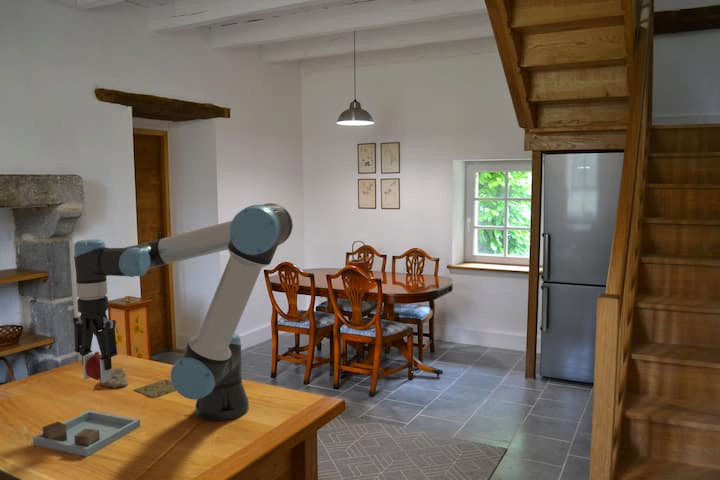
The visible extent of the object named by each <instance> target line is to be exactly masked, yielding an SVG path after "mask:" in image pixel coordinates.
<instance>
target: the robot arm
mask: <svg viewBox="0 0 720 480" xmlns="http://www.w3.org/2000/svg"><path fill="white" fill-rule="evenodd" d="M293 227H294V226H293V219H292V216H291V215H290V212H289V211H288V210H287V209H286V208H284V206H281V205H279V204H277V203H270V202H269V203H264V204H253V205H249V206H247V207H245V208H243V209H242V210H240V211H239V212H238V213H237V214H235V216H234V217H233V218H232V220H230V221H229V220H228V221H226V222H222V223H218V224H217V223H216V224H214V225H210V226H206V227H205V226H204V227H202V228H199V229H195V230H190V231H186V232H183V233H179V234H175V235H171V236H166V237H163V238H159V239H156V240H151V241H150V240H149V241H146V242H143V243H139V244H135V245H129V246H125V247H106V245H105V241H104V240H103V239H98V238H97V239H82V240H78V241H76V242H75V243H74V245H73V247H74V248H73V249H74V251H73V252H74V253H73V259H74V260H73V261H74V269H75V286H76V288H75V289H76V290H75V291H76V297H77V298H78V299H76V300H77V312H79V314H80V315H78V316H75V317H72V323H73V325H74V351H75V353H79V355H80V356H81V365H82V370H83V379H84V380H88V379H92V378H91V377H89V376H88V375H87V373H86V370H85V365H86V363H87V361H88V360H89V358H90V357H92V356H93V355H94V353H93V350H92V344H93V337H94V336H95V337H96V341H97V344H98V348H99V351H100V352H99V353H100V355H101V356H102V358H100V371H101V382H102V383H104V382H106V381H109V380H111V369H113V368H112V357H115V356H117V355H118V346H117V338H116V329H115V328H116V320H115V319H112V320H111V319H109V318H108V316H107V311H108V309H109V298H108V296H107V295H108V283H107V277H108V276H110V277H111V276H112V277H113V276H114V277H129V278H134V277H143V276H145V275H146V274H147V272H149V270H151V269H154V268H157V267H158V268H159V267H161V266H166V265H169V264H173V263H179V262H183V261H186V260H190V259H194V258H198V257H203V256H206V255H210V254H215V253H219V252H223V251H228V252H229V254H230V255H229V258H228V260H227V263H226V265H225V268H224V270H223V273H222V275H221V277H220V280H219V282H218V285H217V287H216V290H215V292H214V295H213V297H212V300H211V302H210V304H209V306H208V309H207V312H206V314H205V316H204V319H203V321H202V324H201V325H200V328H199V331H198V333H197V335H194V336H192V337H190V338H189V341H188V342H187V345H186V347H185V350H184V352H183V354H182V356H181V358H178V360H176V361H175V362H174V364H173V366H172V367H171V370H170V381H171V382H172V384H173V385H174V388H175V390H176V391H175V392H177V393H178V394H179V395H180V396H182V397H184V398H186V399H188V400H194V401H195V400H196V402H195V415H196V417H198V418H199V419H200V420H204V421H210V422H211V421H212V422H219V421H227V420H233V419H237V418H239V417H241V416H244V415H245V414H246V413H247V412H248V411H249V405H250V404H249V401H250V400H249V399H248V396H247V393H246V390H245V388H244V385H243V381H242V379H243V378H242V377H243V375H242V373H243V372H242V369H243V368H242V342H241V336H240V335H239V334H237V333H235V332H236V330H237V328H238V326H239V324H240V323H239V322H240V321H241V319H242V316H243V313H244V312H245V308H246V306H247V305H248V302H249V299H250V297H251V294H252V292H253V290H254V287H255V285H256V283H257V281H258V278H259V276H260V273H261V272H262V268H265V267H267V266H270V265H271V262H272V261H273V258H274V257H275V254H276V251H277V249H278V246H281V245H282V244H283V243H285V242H286V241H287V240H288V239H289V238H290V236H291V234H292V231H293Z"/></svg>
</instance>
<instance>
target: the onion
mask: <svg viewBox="0 0 720 480" xmlns="http://www.w3.org/2000/svg"><path fill="white" fill-rule="evenodd" d="M100 358H102V355H101V354H100V352H99V351H95V352H94V353H93V356H92V357H90V358H89V360H88V361H87V363H86V365H85V370H86V373H87V375H88V376H89V377H91V378H90V379H93V380H95V381H100V379H101V371H100Z"/></svg>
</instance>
